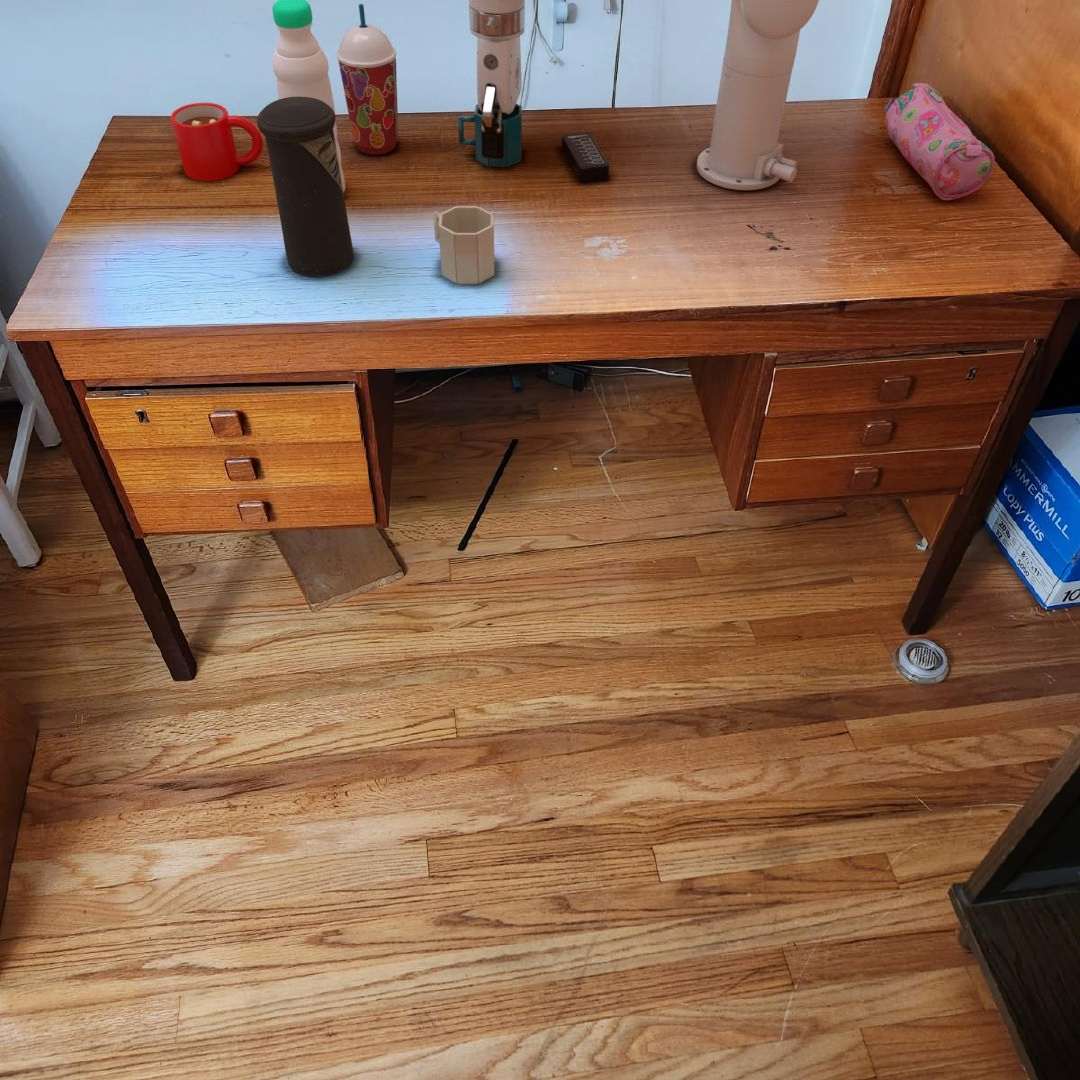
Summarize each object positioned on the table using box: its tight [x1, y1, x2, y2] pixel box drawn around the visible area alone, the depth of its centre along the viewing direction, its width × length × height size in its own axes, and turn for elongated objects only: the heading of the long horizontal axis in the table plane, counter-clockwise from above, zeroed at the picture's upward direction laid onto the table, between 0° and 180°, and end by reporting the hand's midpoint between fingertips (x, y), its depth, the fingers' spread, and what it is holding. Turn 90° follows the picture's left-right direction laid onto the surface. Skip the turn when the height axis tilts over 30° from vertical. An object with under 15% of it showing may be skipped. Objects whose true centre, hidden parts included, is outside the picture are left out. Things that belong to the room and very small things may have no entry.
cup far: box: [457, 103, 523, 168], centre depth 142 cm, size 9×7×7 cm
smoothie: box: [336, 3, 399, 156], centre depth 139 cm, size 8×8×20 cm
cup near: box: [432, 205, 496, 285], centre depth 122 cm, size 9×7×7 cm
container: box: [256, 97, 355, 277], centre depth 118 cm, size 9×9×20 cm
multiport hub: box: [561, 131, 610, 184], centre depth 143 cm, size 4×11×2 cm, turn 14°
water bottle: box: [272, 0, 346, 193], centre depth 127 cm, size 7×7×25 cm
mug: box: [170, 102, 264, 182], centre depth 138 cm, size 8×12×8 cm, turn 97°
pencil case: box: [883, 82, 996, 201], centre depth 141 cm, size 21×9×9 cm, turn 5°
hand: (498, 142), depth 143 cm, fingers open, 8 cm apart
